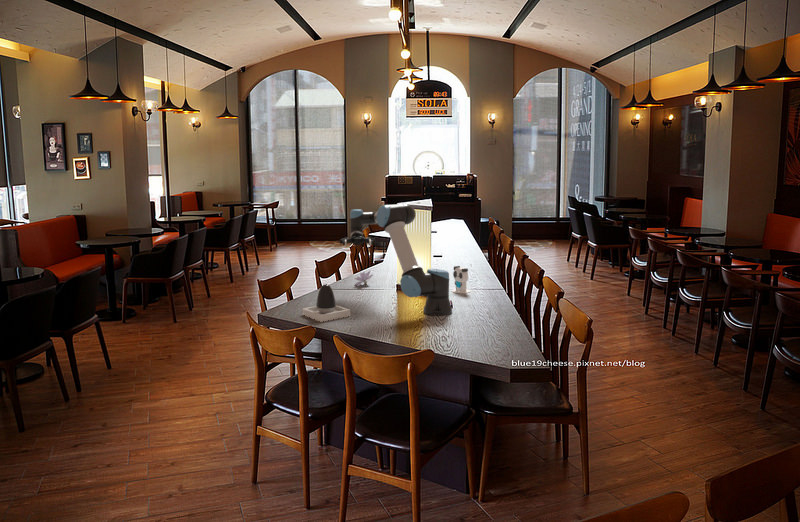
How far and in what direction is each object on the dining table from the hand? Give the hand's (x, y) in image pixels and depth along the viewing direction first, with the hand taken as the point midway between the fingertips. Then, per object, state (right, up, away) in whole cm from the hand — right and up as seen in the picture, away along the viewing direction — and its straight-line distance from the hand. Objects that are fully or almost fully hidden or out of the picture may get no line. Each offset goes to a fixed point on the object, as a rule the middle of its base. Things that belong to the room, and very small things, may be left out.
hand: (358, 243), depth 346 cm
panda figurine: (+60, -29, +41) cm, 78 cm away
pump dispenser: (-16, -37, -16) cm, 43 cm away
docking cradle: (-16, -38, -16) cm, 44 cm away
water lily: (0, -26, +58) cm, 63 cm away
